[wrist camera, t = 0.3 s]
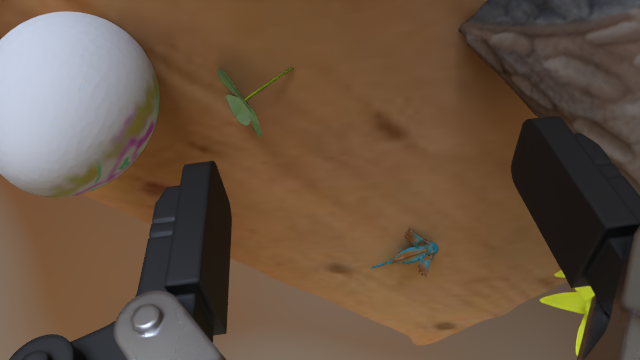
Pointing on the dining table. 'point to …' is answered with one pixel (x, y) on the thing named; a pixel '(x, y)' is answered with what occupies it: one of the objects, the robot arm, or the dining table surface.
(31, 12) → the dining table surface
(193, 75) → the dining table surface
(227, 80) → the seedling
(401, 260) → the dragon figurine
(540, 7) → the owl
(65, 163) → the decorative egg
